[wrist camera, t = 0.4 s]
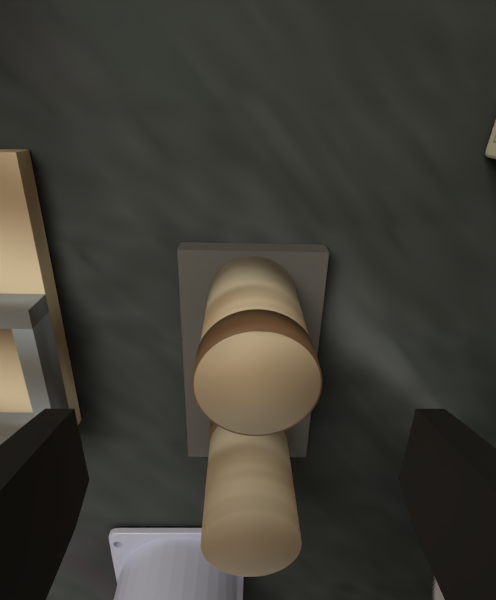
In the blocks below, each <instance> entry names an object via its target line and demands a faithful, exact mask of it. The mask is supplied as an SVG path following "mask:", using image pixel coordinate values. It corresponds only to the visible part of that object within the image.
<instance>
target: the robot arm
mask: <svg viewBox="0 0 496 600" xmlns="http://www.w3.org/2000/svg"><path fill="white" fill-rule="evenodd" d="M399 479H400V483H401V486H402V490H403V493H404V497H405V500H406V504H407V507H408V510H409V513H410V517H411V520H412V523H413V526H414V529H415V531H416V534H417V536H418V538H419V541H420V543H421V545H422V548H423V550H424V553H425V555H426V557H427V560H428V562H429V564H430V567H431V569H432V571H433V573H434V576H435V578H436V580H437V583H438V585H439V587H440V590H441V592H442V594H443V596H444V599H445V600H496V449H495V448H494V447H493V446H491V445H490V444H489V443H488V442H486V441H485V440H484V439H483V438H481V437H480V436H479V435H478V434H476V433H475V432H474V431H473V430H471V429H470V428H469V427H467V426H466V425H465V424H464V423H462V422H461V421H460V420H459V419H457V418H456V417H455V416H453V415H452V414H451V413H449V412H448V411H447V410H445V409H416V410H415V415H414V419H413V423H412V427H411V431H410V436H409V440H408V444H407V448H406V452H405V457H404V461H403V465H402V469H401V473H400V478H399ZM88 482H89V476H88V472H87V467H86V462H85V457H84V452H83V447H82V442H81V438H80V433H79V428H78V423H77V418H76V413H75V409H44V410H43V411H41V412H40V413H39V414H37V415H36V416H35V417H34V418H32V419H31V420H30V421H29V422H27V423H26V424H25V425H24V426H23V427H21V428H20V429H19V430H18V431H17V432H15V433H14V434H13V435H12V436H10V437H9V438H8V439H7V440H6V441H4V442H3V443H2V444H1V445H0V600H46V598H47V595H48V593H49V591H50V588H51V586H52V583H53V581H54V579H55V576H56V574H57V571H58V569H59V567H60V564H61V562H62V559H63V557H64V555H65V552H66V550H67V547H68V545H69V542H70V540H71V537H72V535H73V532H74V530H75V527H76V524H77V520H78V517H79V514H80V510H81V507H82V503H83V500H84V496H85V493H86V489H87V485H88ZM201 534H202V528H114V529H112V530H111V531H110V534H109V543H110V548H111V554H112V559H113V564H114V570H115V575H116V580H117V589H116V593H115V596H114V600H243V576H236V575H231V574H228V573H225V572H222V571H220V570H218V569H216V568H215V567H213V566H212V565H211V564H210V563H209V562H208V561H207V560H206V559H205V558H204V556H203V554H202V551H201Z"/></svg>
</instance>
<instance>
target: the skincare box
mask: <svg viewBox="0 0 496 600" xmlns="http://www.w3.org/2000/svg"><path fill="white" fill-rule="evenodd" d="M485 155H486V157H488V158H492V159H496V120H495V124H494V127H493V130H492V133H491V136H490V139H489V142H488V145H487V148H486V152H485Z"/></svg>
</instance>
